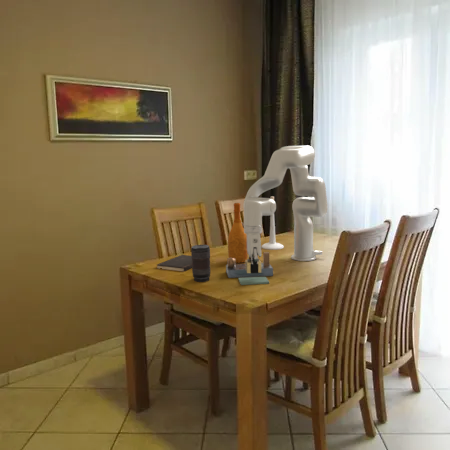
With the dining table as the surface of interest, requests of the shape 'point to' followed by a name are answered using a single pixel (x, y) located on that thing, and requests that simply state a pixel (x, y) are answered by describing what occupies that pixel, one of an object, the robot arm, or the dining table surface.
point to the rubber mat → (253, 280)
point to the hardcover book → (177, 263)
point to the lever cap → (248, 266)
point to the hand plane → (240, 269)
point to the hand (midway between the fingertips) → (253, 270)
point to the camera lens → (200, 262)
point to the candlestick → (272, 236)
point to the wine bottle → (237, 238)
